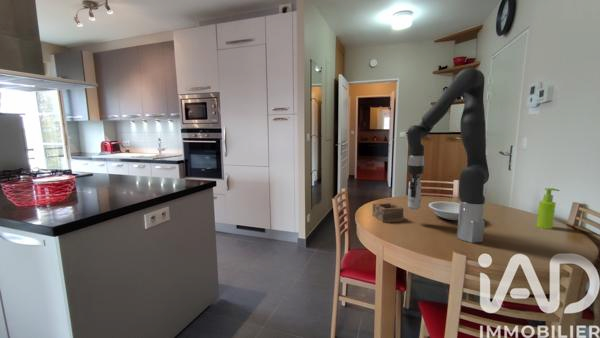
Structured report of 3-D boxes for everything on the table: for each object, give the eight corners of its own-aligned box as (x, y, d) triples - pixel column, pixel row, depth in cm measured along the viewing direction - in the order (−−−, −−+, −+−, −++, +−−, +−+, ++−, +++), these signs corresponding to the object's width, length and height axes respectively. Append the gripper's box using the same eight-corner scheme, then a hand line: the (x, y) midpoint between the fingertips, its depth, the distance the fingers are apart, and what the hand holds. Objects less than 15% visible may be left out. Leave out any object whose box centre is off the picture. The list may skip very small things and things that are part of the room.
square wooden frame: (403, 220, 145) (403, 208, 144) (382, 222, 142) (383, 209, 141) (391, 214, 156) (391, 202, 155) (372, 215, 154) (372, 203, 153)
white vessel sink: (463, 212, 159) (464, 201, 158) (487, 226, 136) (488, 214, 135) (421, 211, 162) (422, 200, 161) (438, 225, 138) (438, 212, 137)
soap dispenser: (557, 229, 131) (563, 190, 128) (541, 228, 132) (546, 189, 130) (549, 225, 137) (554, 187, 134) (533, 224, 138) (538, 187, 135)
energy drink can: (422, 209, 137) (423, 181, 135) (410, 209, 137) (411, 181, 135) (417, 206, 143) (418, 179, 141) (406, 206, 143) (407, 179, 141)
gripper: (421, 166, 129) (419, 199, 131) (425, 163, 141) (424, 194, 143) (405, 165, 133) (403, 198, 135) (410, 162, 145) (409, 192, 147)
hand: (414, 195), depth 139 cm, fingers closed on energy drink can, 6 cm apart
